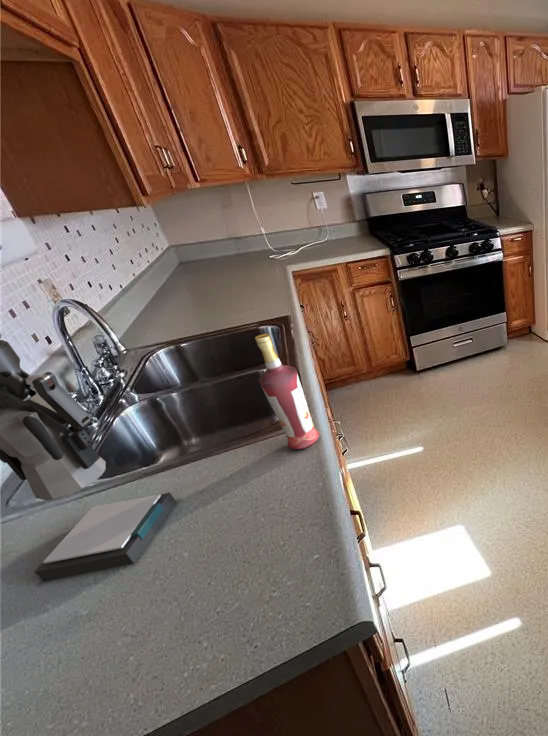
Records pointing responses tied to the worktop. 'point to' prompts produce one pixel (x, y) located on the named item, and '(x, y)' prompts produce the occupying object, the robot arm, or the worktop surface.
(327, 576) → the worktop surface
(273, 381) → the liquor
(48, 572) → the scale
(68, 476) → the coffeepot
